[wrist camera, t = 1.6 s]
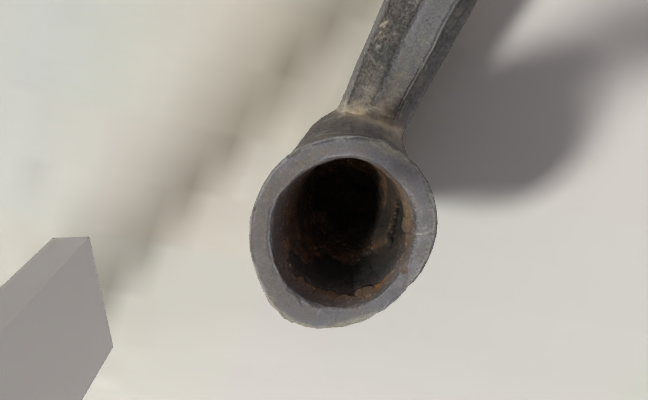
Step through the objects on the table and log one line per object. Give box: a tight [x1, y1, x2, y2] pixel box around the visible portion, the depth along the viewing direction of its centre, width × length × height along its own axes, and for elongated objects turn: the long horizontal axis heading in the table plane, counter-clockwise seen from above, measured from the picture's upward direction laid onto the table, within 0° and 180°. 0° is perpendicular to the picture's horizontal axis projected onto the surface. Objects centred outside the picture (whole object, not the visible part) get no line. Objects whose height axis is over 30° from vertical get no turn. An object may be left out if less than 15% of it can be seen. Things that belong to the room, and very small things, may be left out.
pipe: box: [249, 0, 477, 328], centre depth 21 cm, size 6×13×8 cm, turn 157°
